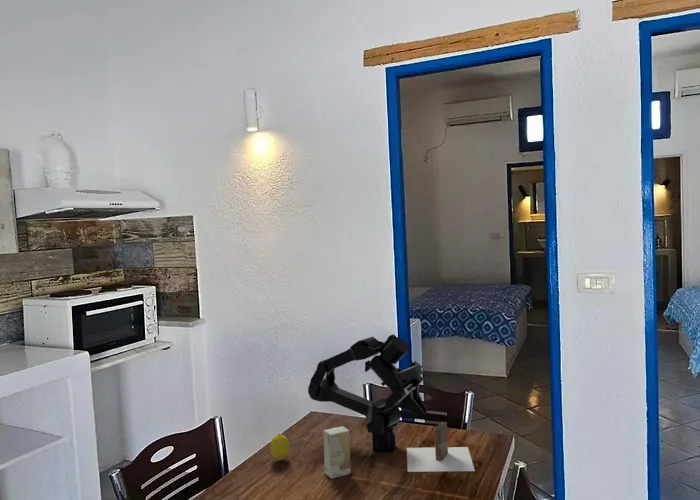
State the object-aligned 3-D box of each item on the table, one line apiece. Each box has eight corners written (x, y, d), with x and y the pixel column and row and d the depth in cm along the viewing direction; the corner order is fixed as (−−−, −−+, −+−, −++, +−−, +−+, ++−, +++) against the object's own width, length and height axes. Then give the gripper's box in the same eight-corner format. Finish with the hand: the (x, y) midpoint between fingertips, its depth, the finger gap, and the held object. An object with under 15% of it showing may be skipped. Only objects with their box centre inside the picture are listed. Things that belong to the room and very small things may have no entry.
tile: (435, 460, 161) (434, 428, 160) (442, 451, 166) (440, 421, 166) (441, 461, 160) (440, 429, 160) (448, 452, 165) (446, 422, 165)
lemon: (293, 457, 169) (292, 431, 168) (283, 465, 164) (282, 438, 163) (277, 455, 171) (276, 429, 171) (267, 463, 166) (265, 436, 166)
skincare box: (331, 479, 153) (328, 435, 153) (324, 473, 157) (321, 430, 157) (352, 473, 156) (350, 429, 156) (345, 467, 160) (342, 425, 160)
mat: (407, 473, 155) (407, 471, 155) (406, 449, 170) (406, 447, 170) (475, 473, 153) (474, 470, 153) (467, 449, 169) (467, 447, 169)
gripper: (392, 362, 158) (432, 406, 153) (416, 347, 174) (452, 386, 170) (368, 388, 162) (406, 431, 157) (393, 371, 178) (428, 409, 174)
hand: (424, 413), depth 165 cm, fingers closed
